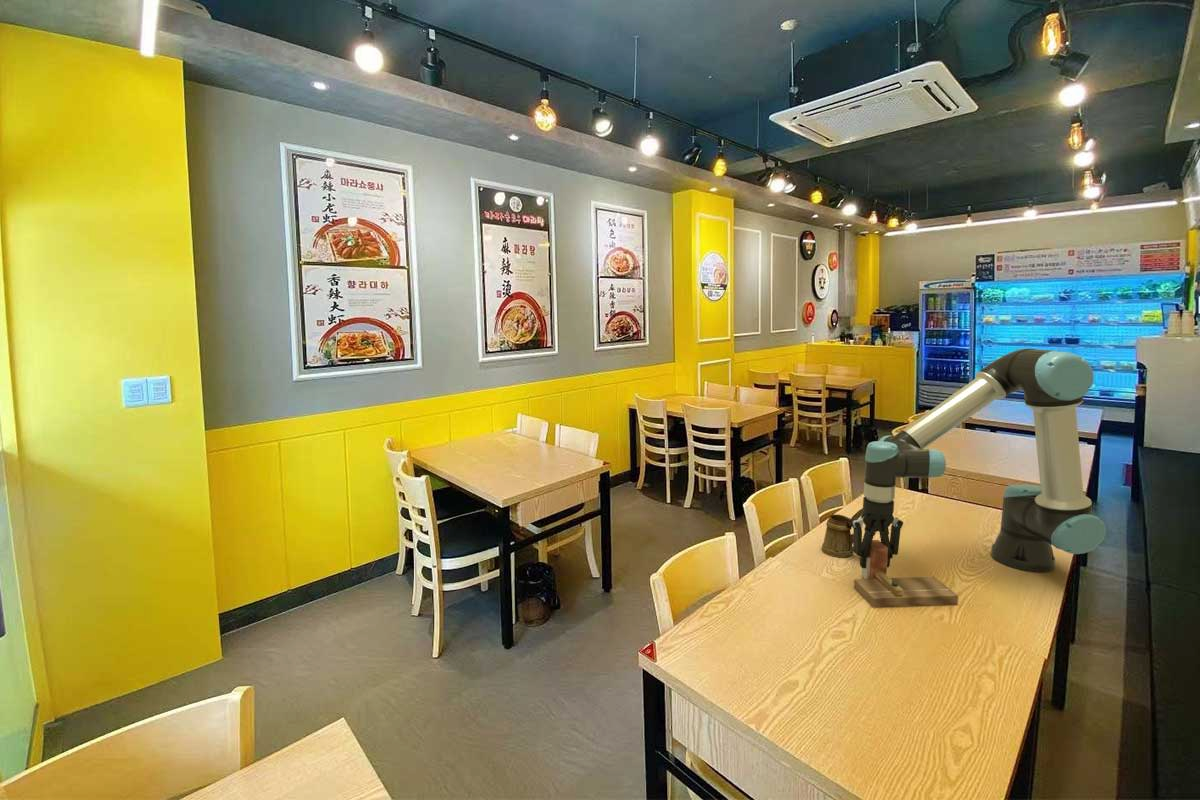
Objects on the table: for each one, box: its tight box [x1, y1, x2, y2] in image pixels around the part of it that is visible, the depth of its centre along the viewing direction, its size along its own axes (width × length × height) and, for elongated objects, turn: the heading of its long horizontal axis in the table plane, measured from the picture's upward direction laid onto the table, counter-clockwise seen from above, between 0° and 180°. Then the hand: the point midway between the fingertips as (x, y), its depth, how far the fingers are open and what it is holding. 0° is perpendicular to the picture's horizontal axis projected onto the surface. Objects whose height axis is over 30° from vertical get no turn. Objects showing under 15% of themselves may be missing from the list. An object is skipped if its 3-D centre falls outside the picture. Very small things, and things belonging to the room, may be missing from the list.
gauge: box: [868, 539, 904, 596], centre depth 145 cm, size 4×15×11 cm, turn 1°
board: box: [853, 576, 959, 608], centre depth 143 cm, size 22×10×3 cm, turn 91°
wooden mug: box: [821, 507, 863, 558], centre depth 167 cm, size 9×14×18 cm, turn 37°
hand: (873, 577), depth 151 cm, fingers closed on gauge, 4 cm apart
